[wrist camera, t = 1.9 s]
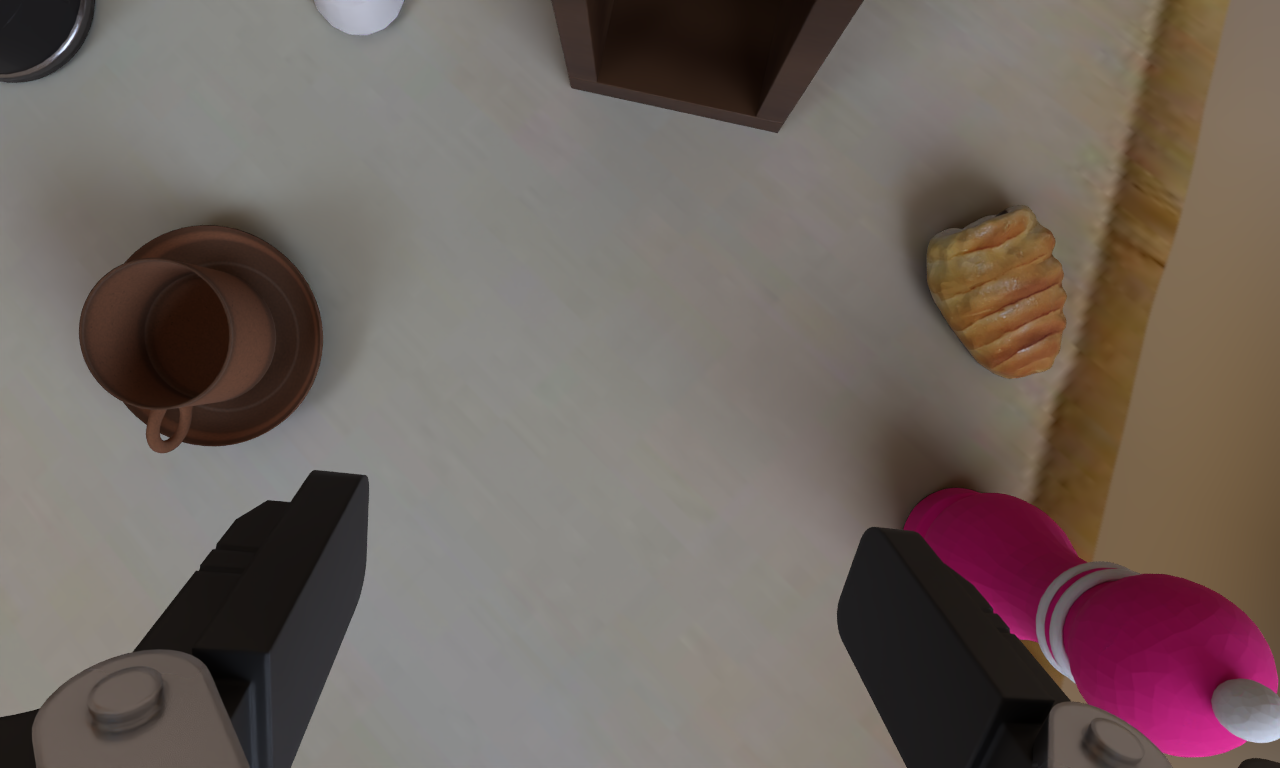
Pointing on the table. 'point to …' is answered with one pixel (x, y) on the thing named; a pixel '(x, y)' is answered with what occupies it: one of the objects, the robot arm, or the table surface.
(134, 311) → the cup and saucer
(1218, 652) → the pepper mill
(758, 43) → the tall wooden box
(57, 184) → the table surface
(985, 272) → the pastry
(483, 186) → the table surface
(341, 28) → the white jar
